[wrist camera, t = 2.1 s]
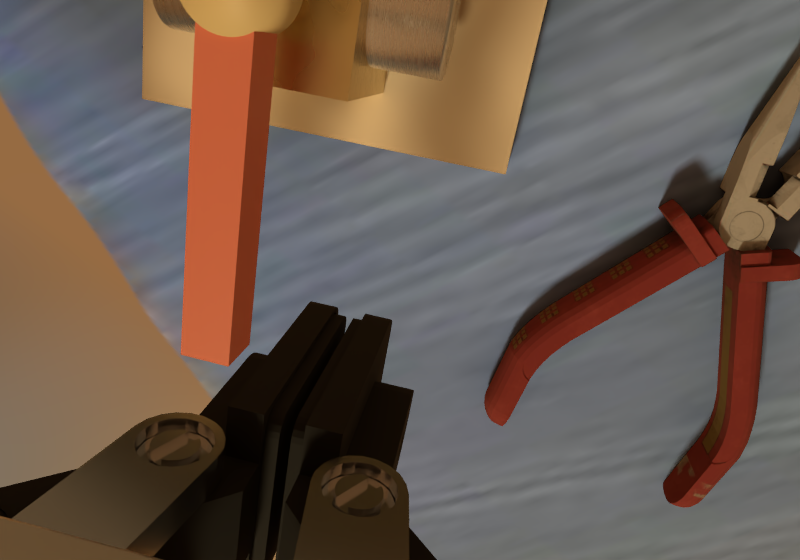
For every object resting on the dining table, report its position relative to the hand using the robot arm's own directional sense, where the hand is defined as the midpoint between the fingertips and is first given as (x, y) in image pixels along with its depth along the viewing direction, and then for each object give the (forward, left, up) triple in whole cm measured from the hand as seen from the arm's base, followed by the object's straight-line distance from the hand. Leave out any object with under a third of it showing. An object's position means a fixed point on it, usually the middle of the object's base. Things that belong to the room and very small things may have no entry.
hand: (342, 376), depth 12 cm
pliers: (-13, +2, -17) cm, 21 cm away
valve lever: (+5, -2, -7) cm, 9 cm away
